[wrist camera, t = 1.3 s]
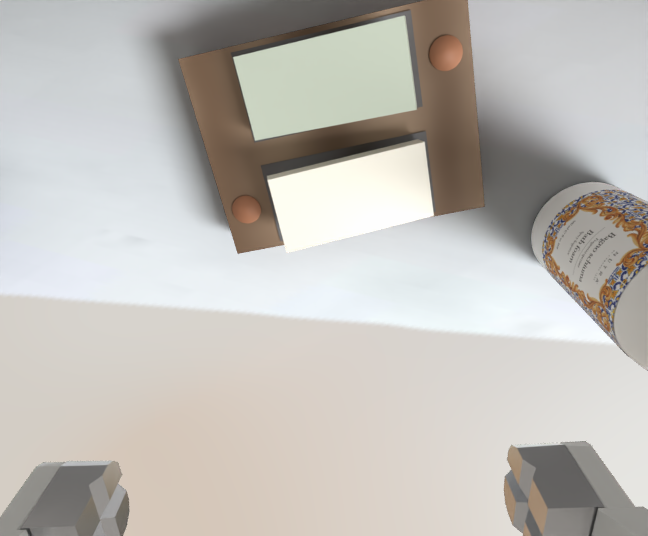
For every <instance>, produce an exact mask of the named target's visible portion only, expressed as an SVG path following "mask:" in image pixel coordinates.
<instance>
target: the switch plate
mask: <svg viewBox="0 0 648 536" xmlns="http://www.w3.org/2000/svg"><path fill="white" fill-rule="evenodd" d="M400 16H405V17H406V25H407V32H408V40H409V48H410V56H411V63H412V71H413V79H414V87H415V94H416V102H417V110H413V111H408V112H402V113H397V114H392V115H387V116H382V117H376V118H371V119H366V120H361V121H355V122H350V123H345V124H340V125H334V126H329V127H324V128H319V129H313V130H308V131H303V132H298V133H292V134H287V135H282V136H277V137H272V138H266V139H261V140H256V141H255V138H254V135H253V131H252V127H251V123H250V119H249V116H248V112H247V108H246V104H245V101H244V97H243V93H242V89H241V85H240V82H239V78H238V74H237V70H236V66H235V63H234V59H233V57H236V56H240V55H244V54H249V53H253V52H257V51H261V50H265V49H269V48H273V47H277V46H281V45H285V44H290V43H294V42H298V41H302V40H306V39H310V38H314V37H318V36H322V35H327V34H331V33H335V32H339V31H343V30H347V29H351V28H355V27H359V26H363V25H368V24H372V23H376V22H380V21H384V20H388V19H392V18H396V17H400ZM178 60H179V63H180V66H181V70H182V73H183V76H184V80H185V83H186V86H187V89H188V93H189V96H190V99H191V102H192V106H193V109H194V112H195V116H196V119H197V122H198V125H199V129H200V132H201V135H202V138H203V142H204V145H205V148H206V151H207V155H208V158H209V161H210V165H211V168H212V171H213V174H214V178H215V181H216V184H217V187H218V191H219V194H220V197H221V201H222V204H223V207H224V210H225V214H226V217H227V220H228V223H229V227H230V230H231V233H232V236H233V240H234V243H235V246H236V250H237V253H238V254H239V253H244V252H249V251H254V250H260V249H265V248H270V247H275V246H281V245H284V241H283V237H282V233H281V230H280V226H279V222H278V218H277V214H276V211H275V207H274V203H273V199H272V195H271V191H270V188H269V184H268V180H267V176H269V175H273V174H277V173H281V172H285V171H289V170H293V169H297V168H302V167H306V166H310V165H314V164H318V163H322V162H326V161H330V160H334V159H338V158H343V157H347V156H351V155H355V154H359V153H363V152H367V151H371V150H375V149H379V148H384V147H388V146H392V145H396V144H400V143H404V142H408V141H412V140H416V139H418V140H421V141H424V142H425V149H426V157H427V165H428V173H429V181H430V189H431V197H432V204H433V212H434V216H438V215H443V214H449V213H454V212H459V211H464V210H470V209H475V208H480V207H485V204H484V192H483V180H482V168H481V156H480V144H479V132H478V120H477V108H476V96H475V83H474V71H473V59H472V47H471V35H470V23H469V11H468V0H424V1H419V2H415V3H411V4H407V5H403V6H398V7H394V8H390V9H386V10H382V11H378V12H373V13H369V14H365V15H361V16H357V17H352V18H348V19H344V20H340V21H336V22H332V23H327V24H323V25H319V26H315V27H311V28H306V29H302V30H298V31H294V32H290V33H286V34H281V35H277V36H273V37H269V38H265V39H260V40H256V41H252V42H248V43H244V44H240V45H235V46H231V47H227V48H223V49H219V50H214V51H210V52H206V53H202V54H198V55H194V56H189V57H185V58H181V59H178ZM431 217H433V216H431ZM427 218H428V217H427Z"/></svg>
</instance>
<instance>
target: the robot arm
mask: <svg viewBox="0 0 648 536" xmlns="http://www.w3.org/2000/svg"><path fill="white" fill-rule="evenodd" d="M507 460H508V463H509V465H510V467H511V469H512V470H511V471H510V472H509V473H508V474H507V475H506V476H505V481H504V496H505V504H506V507H507V511H508V514H509V517H510V519H511V522H512V525H513V526H514V527H516V528H517V529H518V530H519V531H520V532H522V533H523V536H648V510H647V509H646V508H644V507H635V506H634V504H633V503H632V502H631V500H630V499H629V497H628V496H627V495H626V493H625V492H624V491H623V489H622V488H621V486H620V485H619V484H618V482H617V481H616V479H615V478H614V476H613V475H612V474H611V472H610V471H609V470H608V468H607V467H606V466H605V464H604V463H603V461H602V460H601V458H600V457H599V456H598V454H597V453H596V452H595V450H594V449H593V447H592V446H591V445H590V444H589V443H587V442H586V441H580V442H561V443H544V444H524V445H511V447H510V449H509V451H508V457H507ZM121 476H122V473H121V469H120V467H119V463H118V462H115V461H70V462H69V461H68V462H43V463H41V464H40V465H38V466H37V467H36V468H35V469H34V470H33V472H32V473H31V474H30V476H29V477H28V479H27V480H26V481H25V483H24V484H23V486H22V487H21V489H20V490H19V491H18V493H17V494H16V495H15V497H14V498H13V500H12V501H11V503H10V504H9V505H8V507H7V508H6V510H5V511H4V512H3V514H2V515H1V517H0V536H123V534H124V532H125V529H126V526H127V522H128V516H129V498H128V494H127V491H126V490H125V489H124V488H123V487H122V486H120V485H119V484H118V482H119V480H120V478H121Z"/></svg>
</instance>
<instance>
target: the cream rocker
mask: <svg viewBox="0 0 648 536" xmlns="http://www.w3.org/2000/svg"><path fill="white" fill-rule="evenodd" d="M267 180H268V184H269V188H270V191H271V195H272V199H273V203H274V207H275V211H276V214H277V218H278V222H279V226H280V230H281V233H282V237H283V241H284V245H285V249H286V253H289V252H293V251H297V250H301V249H305V248H309V247H313V246H317V245H321V244H325V243H328V242H332V241H336V240H340V239H344V238H348V237H352V236H356V235H360V234H364V233H368V232H372V231H376V230H380V229H384V228H388V227H392V226H396V225H400V224H404V223H408V222H412V221H416V220H419V219H423V218H427V217H431V216H434V212H433V204H432V197H431V189H430V181H429V173H428V165H427V157H426V149H425V142H424V141H421V140H418V139H416V140H412V141H408V142H404V143H400V144H396V145H392V146H388V147H384V148H379V149H375V150H371V151H367V152H363V153H359V154H355V155H351V156H347V157H343V158H338V159H334V160H330V161H326V162H322V163H318V164H314V165H310V166H306V167H302V168H297V169H293V170H289V171H285V172H281V173H277V174H273V175H269V176H267Z"/></svg>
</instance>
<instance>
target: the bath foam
mask: <svg viewBox="0 0 648 536" xmlns="http://www.w3.org/2000/svg"><path fill="white" fill-rule="evenodd" d="M531 243H532V249H533V252H534V254H535V256H536V258H537V260H538V261H539V263H540V264H541V265H542V266H543V267H544V268H545V269H546V270H547V272H548V273H549V274H550V275H551V276H552V277H553V278H554V279H555V280H556V281H557V282H558V283H559V285H560V286H561V287H562V288H563V289H564V290H565V291H566V292H567V293H568V294H569V295H570V296H571V297H572V298H573V299H574V300H575V301H576V302H577V303H578V305H579V306H580V307H581V308H582V309H583V310H584V311H585V312H586V313H587V314H588V315H589V316H590V317H591V318H592V319H593V320H594V321H595V322H596V323H597V324H598V326H599V327H600V328H601V329H602V330H603V331H604V332H605V333H606V334H607V335H608V336H609V337H610V338H611V339H612V340H613V341H614V342H615V343H616V344H617V346H618V347H619V348H620V349H621V350H622V351H623V352H624V353H625V354H626V355H627V356H628V357H630V358H631V359H633V360H634V361H635V362H636V363H638V364H639V365H640V366H641V367H643V368H644V369H646V370H647V371H648V202H647V201H645V200H643V199H641V198H639V197H637V196H634V195H632V194H630V193H628V192H625V191H623V190H621V189H619V188H617V187H615V186H612V185H610V184H606V183H600V182H586V183H580V184H576V185H573V186H571V187H568V188H566V189H564V190H562V191H560V192H559V193H557V194H556V195H555V196H553V197H552V198H551V199H550V200H549V201H548V202H547V203H546V204H545V205H544V206H543V207H542V209H541V210H540V212H539V213H538V215H537V217H536V219H535V222H534V224H533V228H532V233H531Z"/></svg>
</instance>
